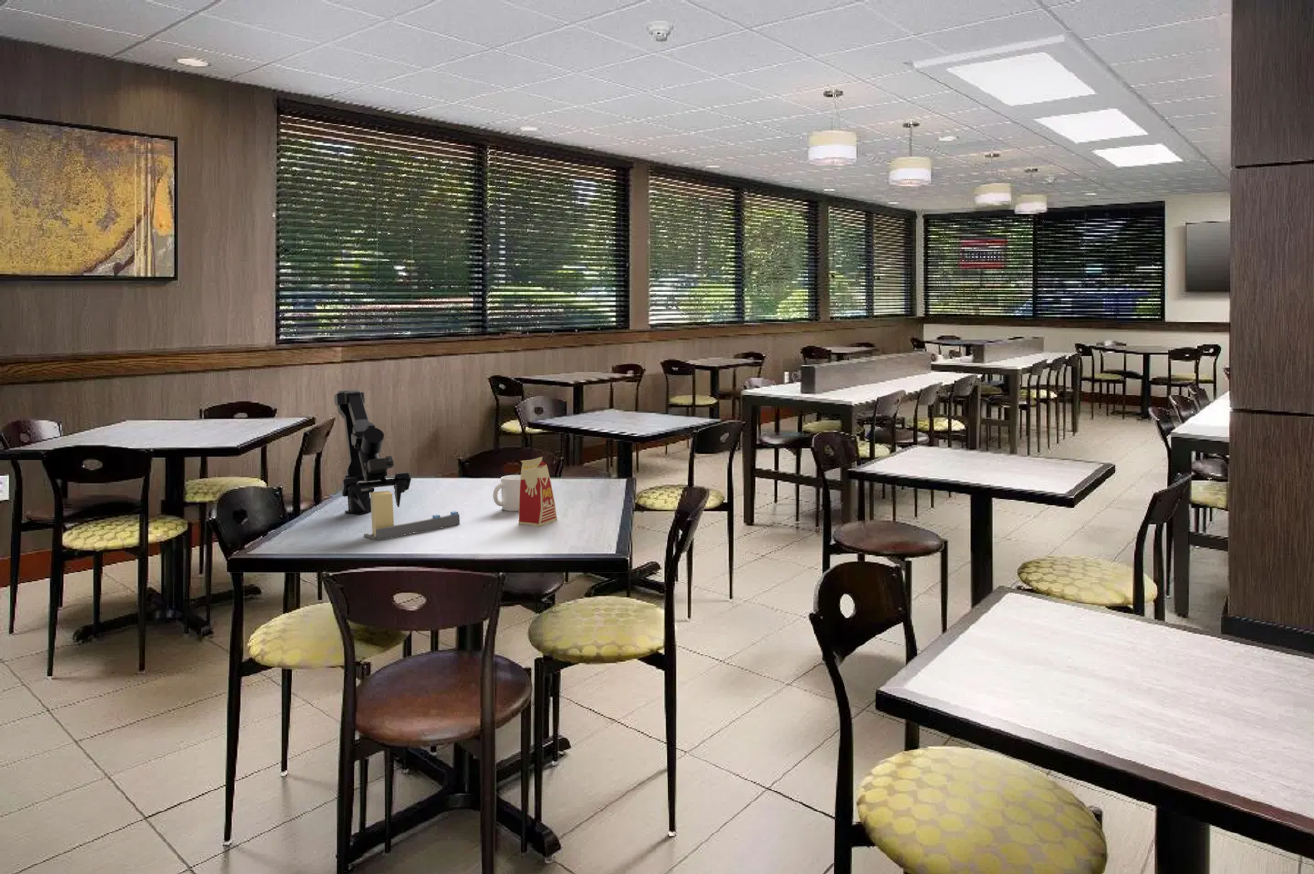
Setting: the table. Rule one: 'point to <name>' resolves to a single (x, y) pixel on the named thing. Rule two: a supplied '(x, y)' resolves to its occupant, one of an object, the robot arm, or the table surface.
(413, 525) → the gray bench frame
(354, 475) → the robot arm
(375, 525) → the wooden block
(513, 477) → the mug
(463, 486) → the table surface
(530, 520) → the milk carton
